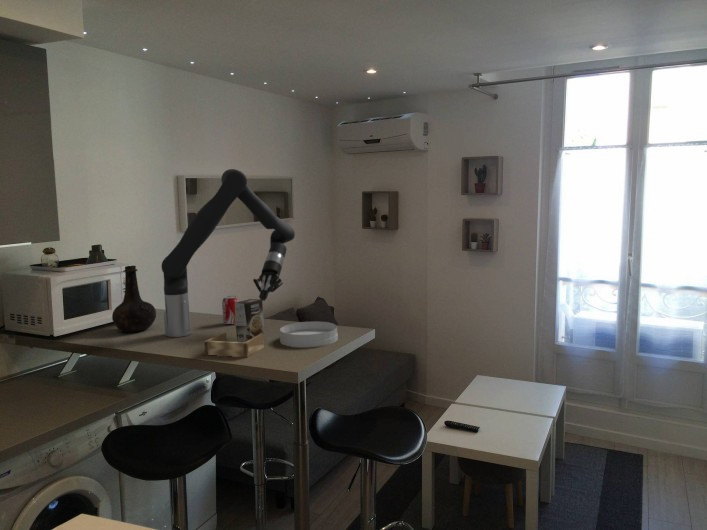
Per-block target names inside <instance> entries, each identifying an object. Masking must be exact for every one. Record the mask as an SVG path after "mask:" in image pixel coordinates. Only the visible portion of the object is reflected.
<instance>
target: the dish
mask: <svg viewBox="0 0 707 530" xmlns="http://www.w3.org/2000/svg"><path fill="white" fill-rule="evenodd" d="M279 334H280V336H279V341H280V344H281V345H283V346H285V345H286V346H285V347H289V346H290V348H316V347H323V346H328V345H331V344H333V343H336V342H337V341H338V339H339V335H338V326H337V324H334V323H331V322H328V321H301V322H294V323H289V324H287V325H284V326H281V328H280V329H279Z"/></svg>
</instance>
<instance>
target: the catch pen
mask: <svg viewBox="0 0 707 530" xmlns="http://www.w3.org/2000/svg"><path fill="white" fill-rule="evenodd" d="M264 341H265V340H264ZM264 341H263V334H259V335H257V336H255V337H254V338H252V339H250V340H248V341H246V342H237V341H227V332H221V333H219V334H217V335H215V336H213V337H210V338H209V339H207V340H204V341H203V342H204V355H205V356H207V355H217V356H216V357H227V356H232V358H249V357H250V355H251V356H252V355H254V354H255V353H257V352H259V351H260V350H262V349H264V348H265V343H264Z"/></svg>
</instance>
